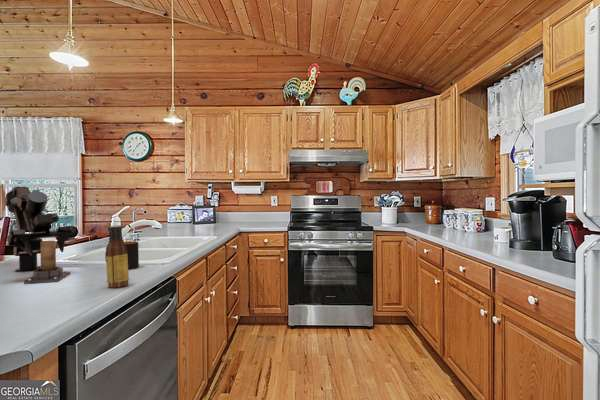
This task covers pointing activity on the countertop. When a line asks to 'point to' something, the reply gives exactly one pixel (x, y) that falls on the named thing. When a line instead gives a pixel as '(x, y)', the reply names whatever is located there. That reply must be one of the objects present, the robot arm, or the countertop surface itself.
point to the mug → (132, 254)
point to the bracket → (47, 276)
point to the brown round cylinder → (48, 255)
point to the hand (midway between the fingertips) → (48, 253)
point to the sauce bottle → (116, 259)
